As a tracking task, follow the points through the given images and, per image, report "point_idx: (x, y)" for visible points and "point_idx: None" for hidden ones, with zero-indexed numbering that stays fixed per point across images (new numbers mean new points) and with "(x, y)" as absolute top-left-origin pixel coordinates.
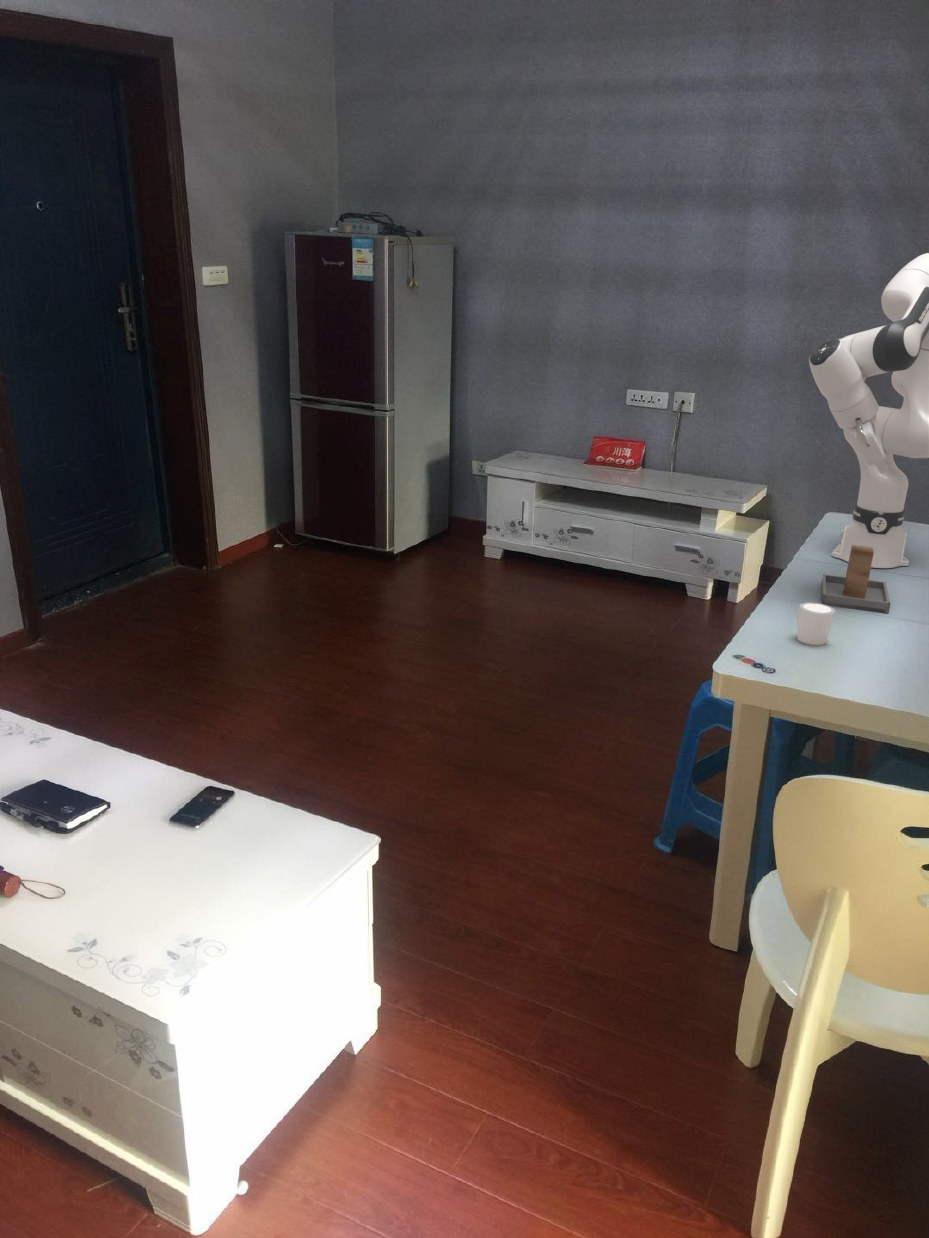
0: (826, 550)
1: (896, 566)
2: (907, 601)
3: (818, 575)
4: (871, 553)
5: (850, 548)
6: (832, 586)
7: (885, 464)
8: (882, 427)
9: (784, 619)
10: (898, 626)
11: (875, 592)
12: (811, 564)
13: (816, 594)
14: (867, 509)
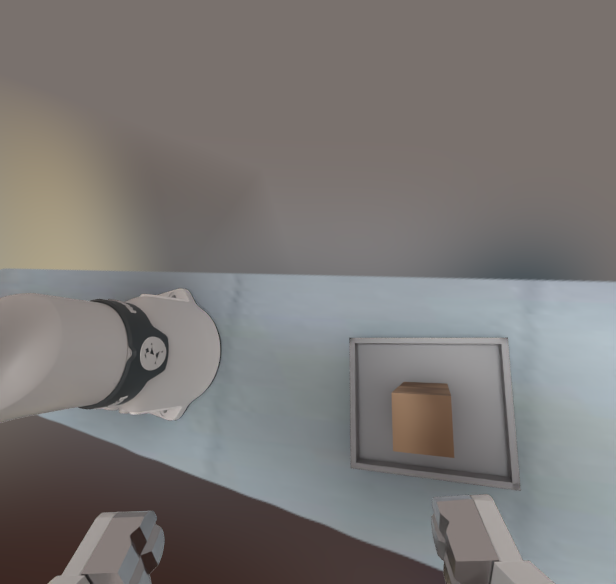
0: (145, 424)
1: (201, 309)
2: (395, 297)
3: (300, 459)
4: (450, 401)
5: (180, 394)
6: (387, 445)
7: (520, 557)
8: None
9: None
10: (591, 322)
11: (387, 357)
12: (235, 465)
13: (438, 482)
14: (116, 384)
